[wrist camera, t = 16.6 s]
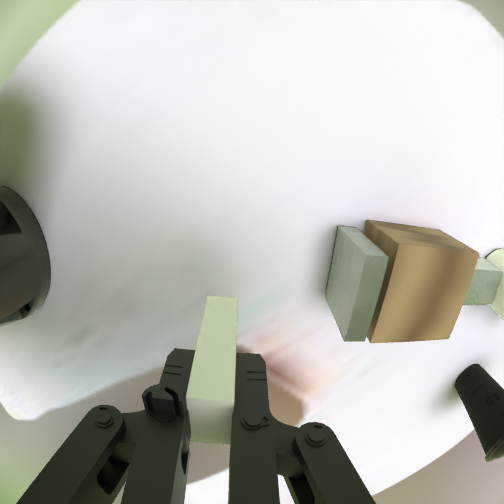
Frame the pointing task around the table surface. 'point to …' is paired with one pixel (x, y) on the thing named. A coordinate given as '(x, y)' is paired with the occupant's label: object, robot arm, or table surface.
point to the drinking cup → (484, 408)
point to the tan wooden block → (419, 282)
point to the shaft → (380, 282)
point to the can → (500, 259)
